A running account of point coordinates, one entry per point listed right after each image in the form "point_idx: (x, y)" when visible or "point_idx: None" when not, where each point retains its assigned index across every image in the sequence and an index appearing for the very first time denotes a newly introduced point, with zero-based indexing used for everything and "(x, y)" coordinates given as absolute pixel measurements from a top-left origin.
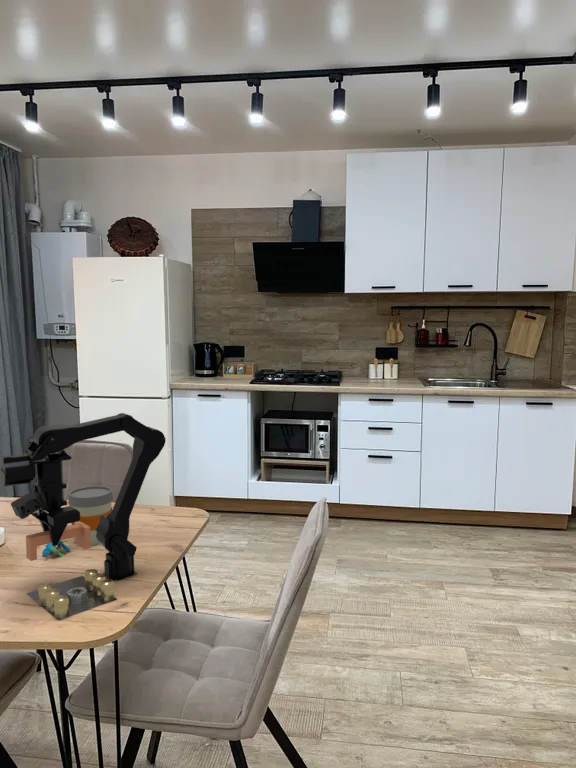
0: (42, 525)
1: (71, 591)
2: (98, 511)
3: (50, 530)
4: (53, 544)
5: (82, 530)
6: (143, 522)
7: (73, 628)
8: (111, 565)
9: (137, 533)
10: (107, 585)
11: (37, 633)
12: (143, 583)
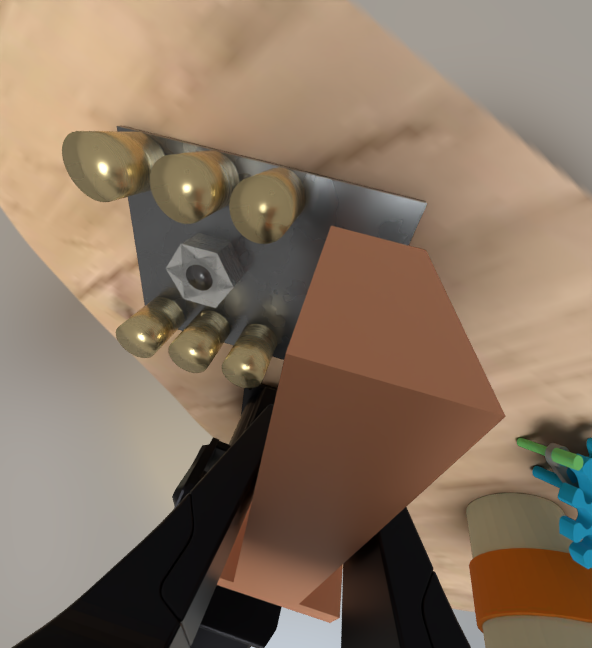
0: (425, 639)
1: (211, 268)
2: (500, 637)
3: (163, 551)
4: (262, 414)
5: (231, 551)
6: (454, 572)
7: (64, 137)
8: (250, 420)
9: (424, 542)
10: (118, 329)
11: (87, 2)
12: (200, 397)
